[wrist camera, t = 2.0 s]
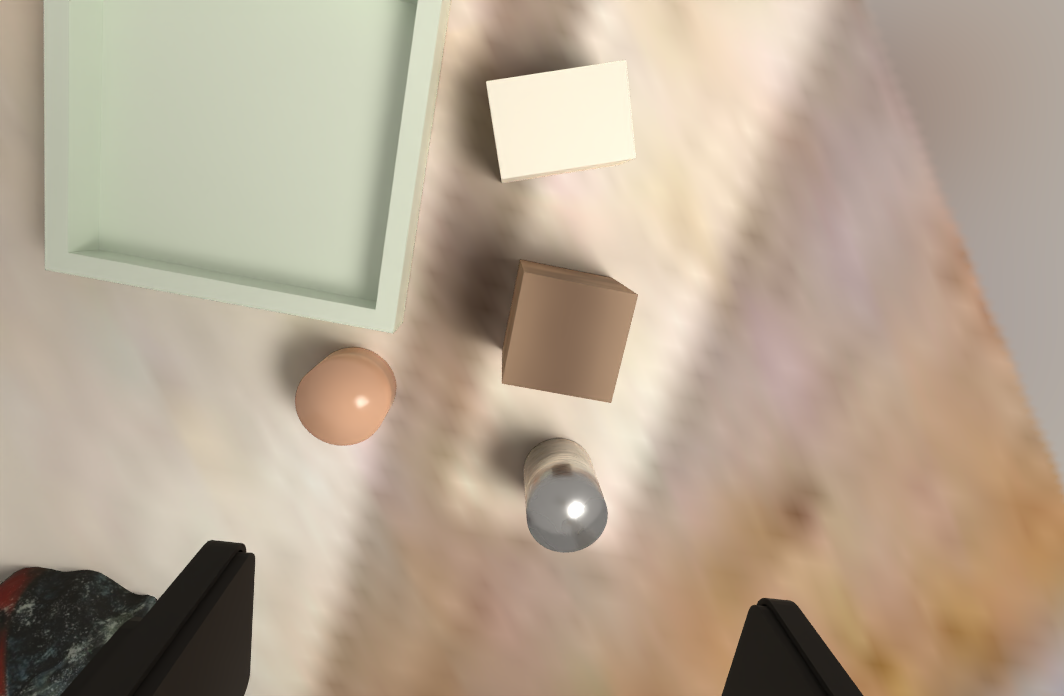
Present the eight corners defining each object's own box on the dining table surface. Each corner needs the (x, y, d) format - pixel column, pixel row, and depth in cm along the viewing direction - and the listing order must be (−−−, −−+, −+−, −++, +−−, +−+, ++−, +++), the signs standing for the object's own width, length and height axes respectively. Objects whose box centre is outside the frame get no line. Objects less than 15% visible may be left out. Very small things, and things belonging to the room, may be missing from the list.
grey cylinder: (598, 444, 32) (615, 486, 27) (583, 506, 33) (597, 557, 28) (530, 433, 31) (535, 473, 27) (517, 495, 32) (519, 545, 28)
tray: (451, -7, 26) (446, -31, 23) (402, 322, 30) (393, 333, 27) (90, -96, 24) (42, -131, 22) (85, 264, 28) (44, 270, 25)
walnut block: (611, 277, 30) (638, 294, 24) (590, 365, 31) (610, 402, 25) (520, 259, 29) (524, 272, 23) (502, 349, 30) (501, 383, 24)
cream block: (608, 81, 27) (625, 59, 23) (617, 165, 28) (635, 158, 24) (488, 99, 27) (486, 81, 23) (501, 183, 28) (501, 179, 24)
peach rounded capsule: (402, 354, 30) (391, 370, 27) (390, 429, 31) (379, 451, 28) (319, 340, 30) (299, 354, 27) (311, 416, 31) (290, 437, 28)
